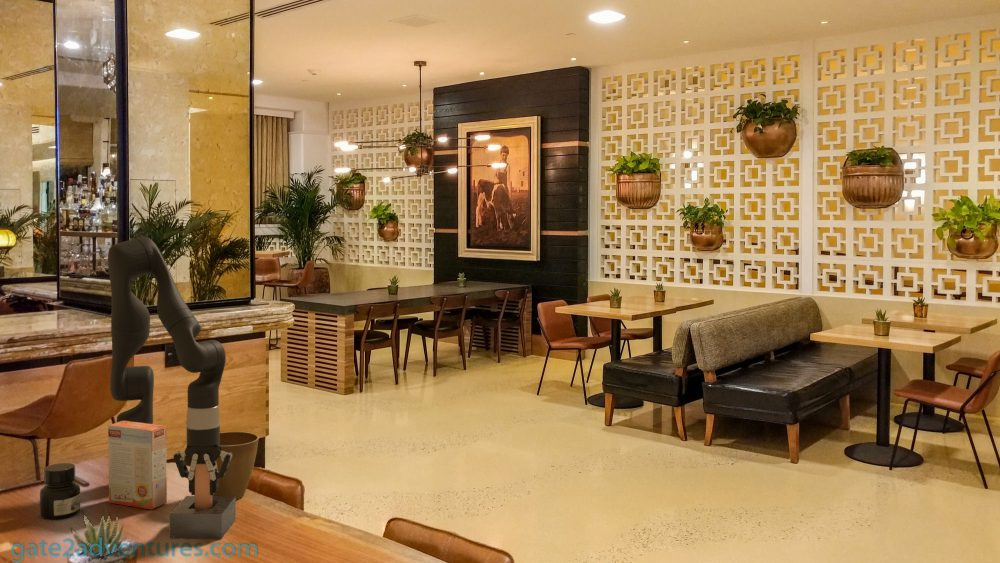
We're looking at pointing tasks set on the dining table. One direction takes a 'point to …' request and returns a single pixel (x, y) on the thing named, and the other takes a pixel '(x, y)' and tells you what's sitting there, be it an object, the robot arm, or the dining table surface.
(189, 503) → the socket
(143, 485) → the cracker box
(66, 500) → the ink bottle
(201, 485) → the peg
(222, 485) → the plant pot
